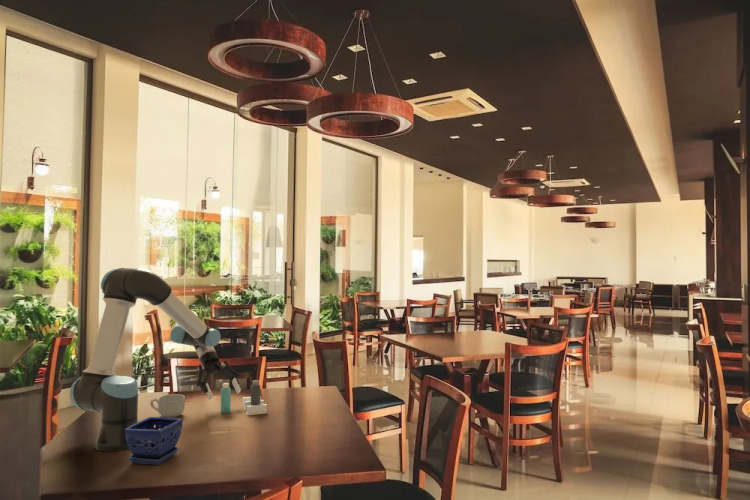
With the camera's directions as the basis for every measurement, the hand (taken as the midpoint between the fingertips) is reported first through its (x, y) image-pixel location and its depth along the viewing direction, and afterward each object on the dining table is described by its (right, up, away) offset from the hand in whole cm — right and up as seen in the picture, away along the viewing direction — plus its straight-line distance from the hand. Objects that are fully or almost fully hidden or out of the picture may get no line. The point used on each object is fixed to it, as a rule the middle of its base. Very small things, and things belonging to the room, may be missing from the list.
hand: (225, 394), depth 224 cm
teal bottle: (+1, -8, -2) cm, 8 cm away
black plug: (+13, -7, -2) cm, 15 cm away
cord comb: (+12, -8, +2) cm, 14 cm away
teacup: (-23, -8, -4) cm, 25 cm away
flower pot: (-8, -7, -53) cm, 54 cm away
